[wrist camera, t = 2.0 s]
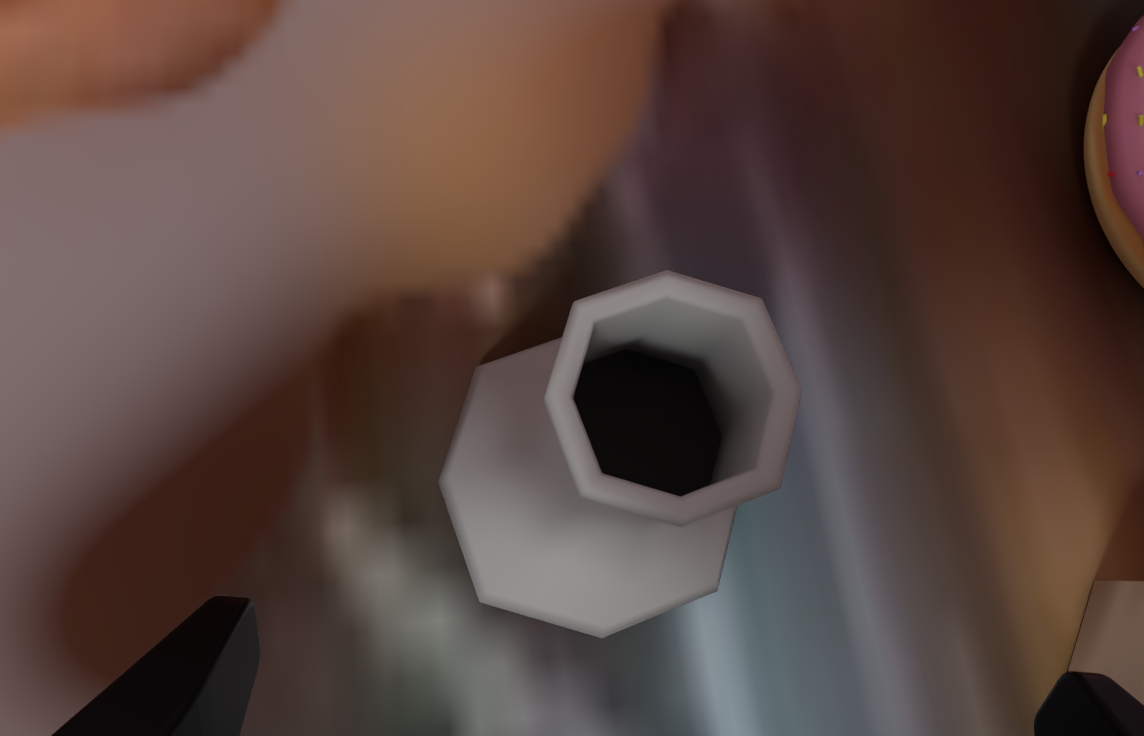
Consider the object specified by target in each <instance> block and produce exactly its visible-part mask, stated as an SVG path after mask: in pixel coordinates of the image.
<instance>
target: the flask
mask: <svg viewBox="0 0 1144 736" xmlns="http://www.w3.org/2000/svg"><path fill="white" fill-rule="evenodd" d="M801 393H802V388H801V386H800V384H799V381H798V379H797V377H796V375H795V372H794V370H793V368H792V366H791V363H790V361H789V359H788V357H787V354H786V352H785V350H784V347H783V345H782V343H781V341H780V338H779V336H778V334H777V332H776V329H775V327H774V325H773V323H772V320H771V318H770V316H769V314H768V311H767V309H766V307H765V305H764V302H763V300H762V298H759V297H756V296H752V295H749V294H746V293H742V292H739V291H736V290H732V289H729V288H726V287H722V286H719V285H716V284H712V283H709V282H706V281H702V280H699V279H696V278H692V277H689V276H686V275H682V274H679V273H676V272H672V271H669V270H665V271H662V272H659V273H656V274H653V275H650V276H647V277H644V278H641V279H638V280H635V281H632V282H629V283H626V284H623V285H620V286H617V287H615V288H612V289H609V290H606V291H603V292H600V293H597V294H594V295H591V296H588V297H585V298H582V299H579V300H576V301H574V302H573V304H572V307H571V310H570V313H569V317H568V320H567V323H566V327H565V330H564V333H563V337H560V338H557V339H555V340H552V341H549V342H546V343H543V344H540V345H537V346H534V347H531V348H529V349H526V350H523V351H520V352H517V353H514V354H511V355H508V356H506V357H503V358H500V359H497V360H494V361H491V362H488V363H485V364H482V365H480V366H477V367H476V368H475V371H474V374H473V377H472V380H471V383H470V386H469V389H468V392H467V395H466V398H465V402H464V405H463V408H462V411H461V414H460V417H459V420H458V423H457V426H456V429H455V432H454V435H453V438H452V441H451V444H450V448H449V451H448V454H447V457H446V460H445V463H444V466H443V469H442V472H441V475H440V478H439V481H438V483H439V486H440V489H441V491H442V494H443V497H444V500H445V503H446V506H447V509H448V512H449V515H450V518H451V520H452V523H453V526H454V529H455V532H456V535H457V538H458V541H459V544H460V547H461V550H462V552H463V555H464V558H465V561H466V564H467V567H468V570H469V573H470V576H471V579H472V581H473V584H474V587H475V590H476V593H477V596H478V599H479V602H481V603H484V604H488V605H491V606H495V607H498V608H501V609H505V610H508V611H511V612H515V613H518V614H522V615H525V616H528V617H532V618H535V619H539V620H542V621H545V622H549V623H552V624H555V625H559V626H562V627H566V628H569V629H572V630H576V631H579V632H582V633H586V634H589V635H593V636H596V637H599V638H604V637H606V636H608V635H611V634H613V633H616V632H618V631H621V630H623V629H626V628H628V627H630V626H633V625H635V624H638V623H640V622H643V621H645V620H648V619H650V618H652V617H655V616H657V615H660V614H662V613H665V612H667V611H670V610H672V609H674V608H677V607H679V606H682V605H684V604H687V603H689V602H692V601H694V600H697V599H699V598H701V597H704V596H706V595H709V594H711V593H714V592H716V591H717V589H718V585H719V581H720V577H721V572H722V568H723V564H724V560H725V555H726V551H727V547H728V543H729V538H730V534H731V530H732V525H733V521H734V517H735V513H736V508H737V505H739V504H742V503H745V502H747V501H750V500H752V499H755V498H757V497H760V496H762V495H765V494H767V493H770V492H773V491H775V490H777V489H779V488H780V487H781V483H782V478H783V474H784V469H785V465H786V460H787V456H788V451H789V447H790V442H791V438H792V433H793V429H794V424H795V420H796V415H797V411H798V406H799V402H800V397H801Z"/></svg>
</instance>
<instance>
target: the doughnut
mask: <svg viewBox="0 0 1144 736" xmlns="http://www.w3.org/2000/svg"><path fill="white" fill-rule="evenodd" d="M1084 166H1085V174H1086V180H1087V185H1088V190H1089V194H1090V197H1091V201H1092V204H1093V207H1094V210H1095V213H1096V215H1097V218H1098V220H1099V223H1100V225H1101V227H1102V229H1103V231H1104V233H1105V235H1106V237H1107V239H1108V241H1109V243H1110V245H1111V246H1112V248H1113V250H1114V251H1115V253H1116V254H1117V256H1118V257H1119V259H1120V260H1121V262H1122V263H1123V265H1124V266H1125V267H1126V269H1127V270H1128V271H1129V272H1130V274H1131V275H1132V276H1133V277H1134V279H1135V280H1136V281H1137V282H1138V283H1139V284H1140V285H1141V286H1142V287H1143V288H1144V15H1143V16H1142V17H1141V18H1140V19H1139V20H1138V21H1137V22H1136V23H1135V25H1134V26H1133V28H1132V29H1131V31H1130V32H1129V34H1128V35H1127V37H1126V38H1125V40H1124V41H1123V43H1122V44H1121V46H1120V47H1119V48H1118V49H1117V50H1116V52H1115V53H1114V54H1113V56H1112V57H1111V59H1110V60H1109V62H1108V63H1107V65H1106V67H1105V68H1104V70H1103V72H1102V74H1101V76H1100V78H1099V80H1098V82H1097V84H1096V87H1095V90H1094V92H1093V95H1092V98H1091V101H1090V105H1089V109H1088V113H1087V118H1086V124H1085V132H1084Z"/></svg>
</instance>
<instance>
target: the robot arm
mask: <svg viewBox="0 0 1144 736" xmlns="http://www.w3.org/2000/svg"><path fill="white" fill-rule="evenodd" d="M259 660H260V643H259V634H258V626H257V617H256V609H255V605H254V603H253V601H252V600H251V599H249V598H246V597H235V596H224V595H217V596H214V597H211V598H210V599H208V600H207V601H205V602H204V603H203V604H202V605H201V606H200V607H199V608H197V609H196V610H195V611H194V612H193V613H192V614H191V615H189V616H188V617H187V618H186V619H185V620H184V621H182V622H181V623H180V624H179V625H178V626H177V627H176V628H174V629H173V630H172V631H171V632H170V633H169V634H167V635H166V636H165V637H164V638H163V639H162V640H161V641H159V642H158V643H157V644H156V645H155V646H154V647H153V648H151V649H150V650H149V651H148V652H147V653H146V654H144V655H143V656H142V657H141V658H140V659H139V660H138V661H136V662H135V663H134V664H133V665H132V666H131V667H130V668H128V669H127V670H126V671H125V672H124V673H123V674H121V675H120V676H119V677H118V678H117V679H116V680H115V681H113V682H112V683H111V684H110V685H109V686H108V687H106V688H105V689H104V690H103V691H102V692H101V693H100V694H98V695H97V696H96V697H95V698H94V699H93V700H92V701H90V702H89V703H88V704H87V705H86V706H85V707H83V708H82V709H81V710H80V711H79V712H78V713H77V714H75V715H74V716H73V717H72V718H71V719H70V720H68V721H67V722H66V723H65V724H64V725H63V726H62V727H60V728H59V729H58V730H57V731H56V732H55V733H54V734H52V735H51V736H239V735H240V731H241V728H242V724H243V720H244V717H245V713H246V710H247V706H248V703H249V699H250V696H251V692H252V688H253V685H254V681H255V678H256V674H257V670H258V666H259ZM1034 734H1035V736H1144V705H1143V704H1142V703H1141V702H1139V701H1138V700H1137V699H1136V698H1135V697H1133V696H1132V695H1131V694H1130V693H1128V692H1127V691H1126V690H1125V689H1124V688H1122V687H1121V686H1120V685H1119V684H1118V683H1116V682H1115V681H1114V680H1112V679H1111V678H1110V677H1108V676H1106V675H1103V674H1099V673H1091V672H1080V671H1068V672H1066V673H1064V674H1063V675H1062V676H1061V677H1060V678H1059V680H1058V681H1057V683H1056V684H1055V686H1054V687H1053V689H1052V690H1051V692H1050V693H1049V695H1048V696H1047V698H1046V699H1045V701H1044V702H1043V704H1042V705H1041V707H1040V708H1039V710H1038V712H1037V714H1036V716H1035V720H1034Z"/></svg>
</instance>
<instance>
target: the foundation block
mask: <svg viewBox="0 0 1144 736" xmlns="http://www.w3.org/2000/svg"><path fill="white" fill-rule="evenodd" d="M1068 671H1080V672H1091V673H1099V674H1103V675H1106V676H1108V677H1110V678H1111V679H1112V680H1114V681H1115V682H1116V683H1118V684H1119V685H1120V686H1121V687H1122V688H1124V689H1125V690H1126V691H1127V692H1128V693H1130V694H1131V695H1132V696H1133V697H1135V698H1136V699H1137V700H1138V701H1139V702H1141V703H1142V704H1143V705H1144V581H1109V580H1094V584H1093V587H1092V591H1091V594H1090V598H1089V601H1088V604H1087V608H1086V611H1085V615H1084V618H1083V622H1082V625H1081V628H1080V632H1079V635H1078V639H1077V642H1076V646H1075V649H1074V652H1073V656H1072V659H1071V663H1070V666H1069V670H1068Z"/></svg>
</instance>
